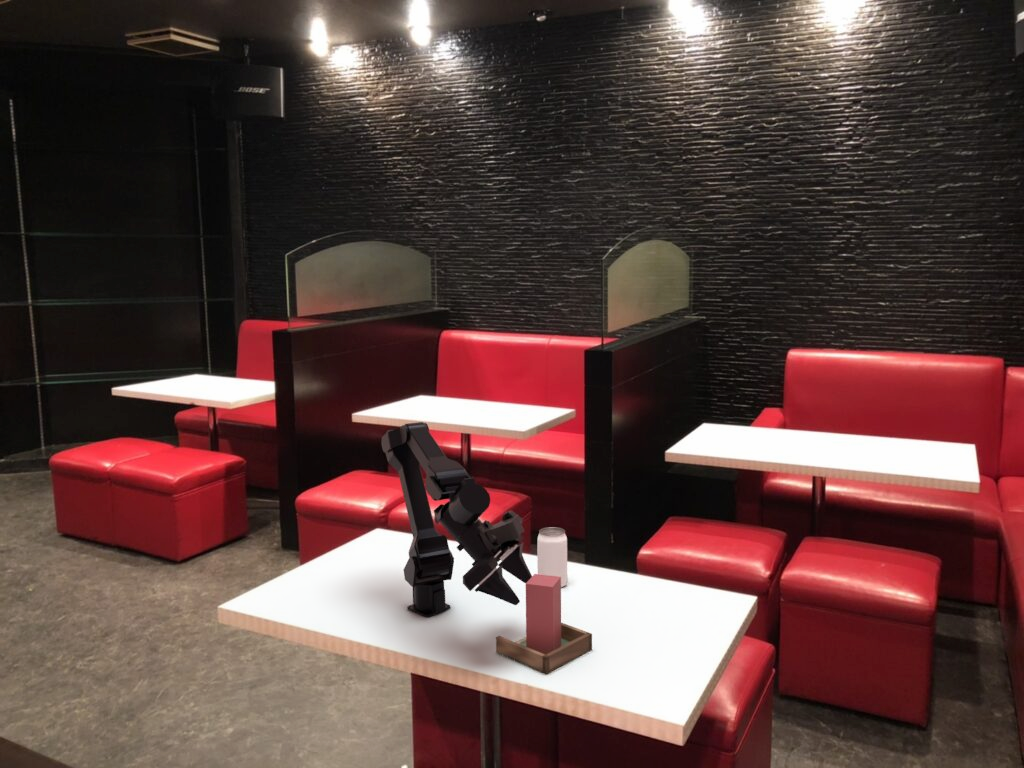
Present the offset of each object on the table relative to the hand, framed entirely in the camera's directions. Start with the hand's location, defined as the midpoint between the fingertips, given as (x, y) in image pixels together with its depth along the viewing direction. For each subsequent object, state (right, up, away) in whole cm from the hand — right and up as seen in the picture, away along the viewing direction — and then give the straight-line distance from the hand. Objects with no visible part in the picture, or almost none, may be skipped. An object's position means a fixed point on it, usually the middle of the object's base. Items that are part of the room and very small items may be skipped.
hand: (525, 593), depth 152 cm
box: (+3, -10, 0) cm, 11 cm away
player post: (+3, -10, 0) cm, 11 cm away
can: (+6, -6, +32) cm, 33 cm away
